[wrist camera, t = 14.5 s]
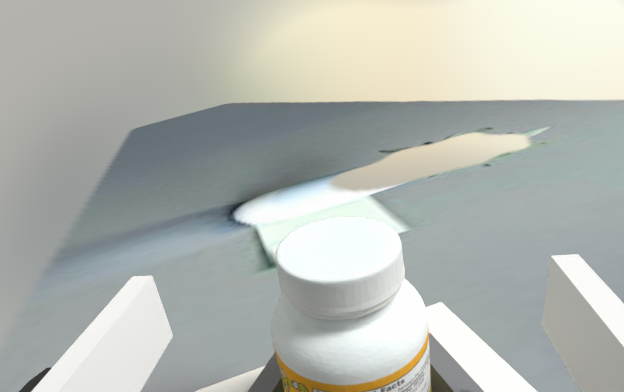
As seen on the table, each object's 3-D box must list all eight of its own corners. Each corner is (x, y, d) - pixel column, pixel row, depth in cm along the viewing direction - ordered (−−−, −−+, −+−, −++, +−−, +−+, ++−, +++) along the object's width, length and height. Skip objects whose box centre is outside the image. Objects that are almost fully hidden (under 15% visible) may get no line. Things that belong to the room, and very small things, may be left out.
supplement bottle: (449, 520, 14) (445, 289, 10) (294, 523, 14) (234, 307, 10) (420, 387, 18) (409, 199, 15) (305, 393, 19) (267, 215, 15)
